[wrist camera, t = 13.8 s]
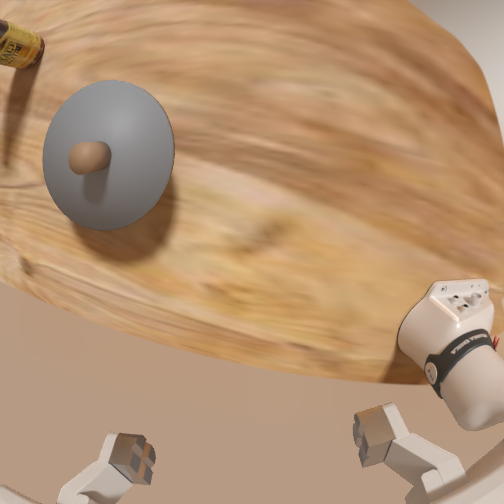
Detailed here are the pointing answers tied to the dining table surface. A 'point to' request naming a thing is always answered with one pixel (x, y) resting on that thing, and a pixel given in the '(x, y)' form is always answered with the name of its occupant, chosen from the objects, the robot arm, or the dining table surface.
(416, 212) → the dining table surface
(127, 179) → the lid
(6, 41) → the sauce bottle
